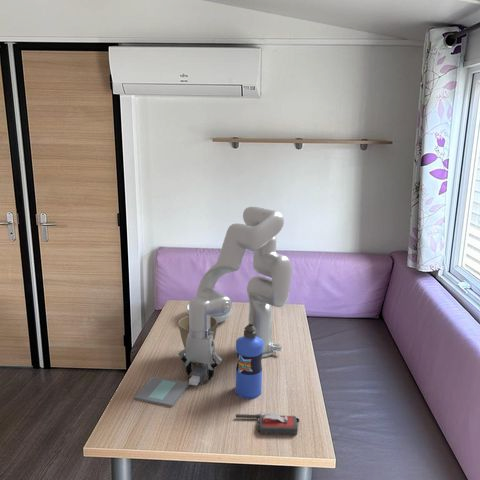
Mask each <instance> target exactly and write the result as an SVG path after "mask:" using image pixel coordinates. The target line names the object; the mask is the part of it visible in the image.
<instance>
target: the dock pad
mask: <svg viewBox="0 0 480 480" xmlns="http://www.w3.org/2000/svg"><path fill="white" fill-rule="evenodd" d="M189 386H190V384H189V382H186V381H181V380H176V379H171V378H166V377H161V376H156V375H154V376H152V377H151V378H150V380H149V381H148V382H147V383H146V384H145V385H144V386H143V387H142V388H141V389H140V390H139V391H138V392H137V393H136V394H135V396H134V397H133V399H134V400H137V401H142V402H145V403H146V402H147V403H151V404H155V405H159V406H166V407H169V408H173V407H174V406H175V405H176V403H177V402H178V401H179V399H180V398H181V397H182V395H183V394H184V393H185V392H186V390H187V389H188V387H189Z"/></svg>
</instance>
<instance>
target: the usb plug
mask: <svg viewBox="0 0 480 480" xmlns="http://www.w3.org/2000/svg"><path fill="white" fill-rule="evenodd" d="M206 379H208V366H207V364H205V363H199V364H196V365H195V366H194V367H193V368H192V371H191V374H190V378H189V381H188V383H189V385H190V386H191V385H192V386H198V385H201V386H202V385H203V383H204V382H205V381H206Z"/></svg>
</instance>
